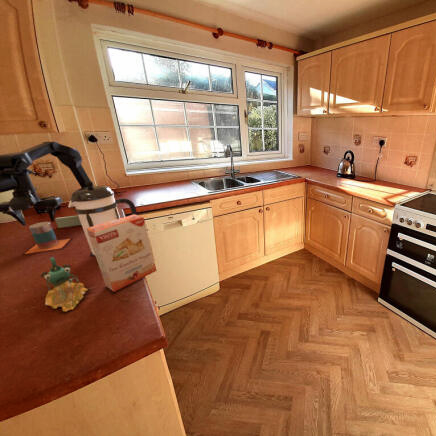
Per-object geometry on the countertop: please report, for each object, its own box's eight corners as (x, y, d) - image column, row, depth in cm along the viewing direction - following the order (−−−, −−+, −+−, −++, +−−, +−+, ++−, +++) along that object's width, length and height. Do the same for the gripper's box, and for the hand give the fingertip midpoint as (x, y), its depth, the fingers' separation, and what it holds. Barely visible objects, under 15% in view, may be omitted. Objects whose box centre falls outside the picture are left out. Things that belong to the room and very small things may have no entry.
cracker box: (114, 293, 75) (93, 232, 68) (105, 287, 78) (84, 227, 71) (158, 271, 86) (144, 216, 79) (148, 266, 89) (134, 213, 82)
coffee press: (123, 261, 93) (99, 184, 82) (79, 264, 92) (48, 186, 81) (145, 241, 109) (127, 174, 98) (108, 242, 108) (86, 175, 97)
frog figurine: (84, 277, 84) (70, 240, 77) (93, 308, 72) (78, 267, 66) (46, 289, 78) (28, 250, 71) (49, 325, 66) (27, 282, 60)
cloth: (70, 239, 112) (70, 238, 112) (61, 248, 103) (61, 248, 103) (36, 244, 108) (36, 243, 108) (24, 254, 99) (24, 254, 99)
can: (61, 241, 109) (52, 220, 106) (54, 247, 104) (45, 226, 100) (42, 244, 107) (33, 223, 103) (35, 250, 101) (25, 228, 98)
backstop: (88, 223, 130) (84, 214, 128) (87, 224, 129) (83, 215, 127) (59, 226, 126) (56, 217, 124) (58, 228, 124) (54, 219, 123)
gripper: (-25, 195, 86) (-4, 235, 91) (43, 189, 92) (59, 226, 98) (-4, 188, 95) (13, 224, 101) (56, 183, 102) (69, 217, 108)
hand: (39, 223), depth 102 cm, fingers open, 9 cm apart
